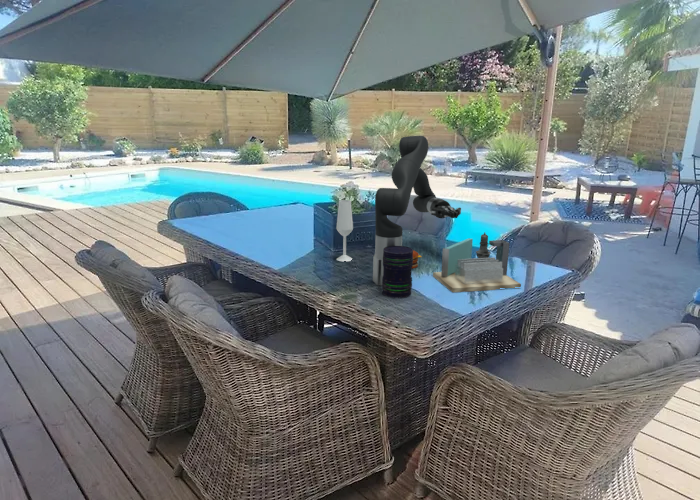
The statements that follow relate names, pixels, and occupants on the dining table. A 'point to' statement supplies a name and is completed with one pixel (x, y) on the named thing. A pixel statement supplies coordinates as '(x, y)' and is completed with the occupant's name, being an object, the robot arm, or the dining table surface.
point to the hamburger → (415, 259)
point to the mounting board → (458, 286)
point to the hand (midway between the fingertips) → (455, 215)
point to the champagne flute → (344, 225)
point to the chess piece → (483, 247)
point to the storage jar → (397, 271)
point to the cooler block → (484, 266)
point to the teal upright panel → (455, 256)
